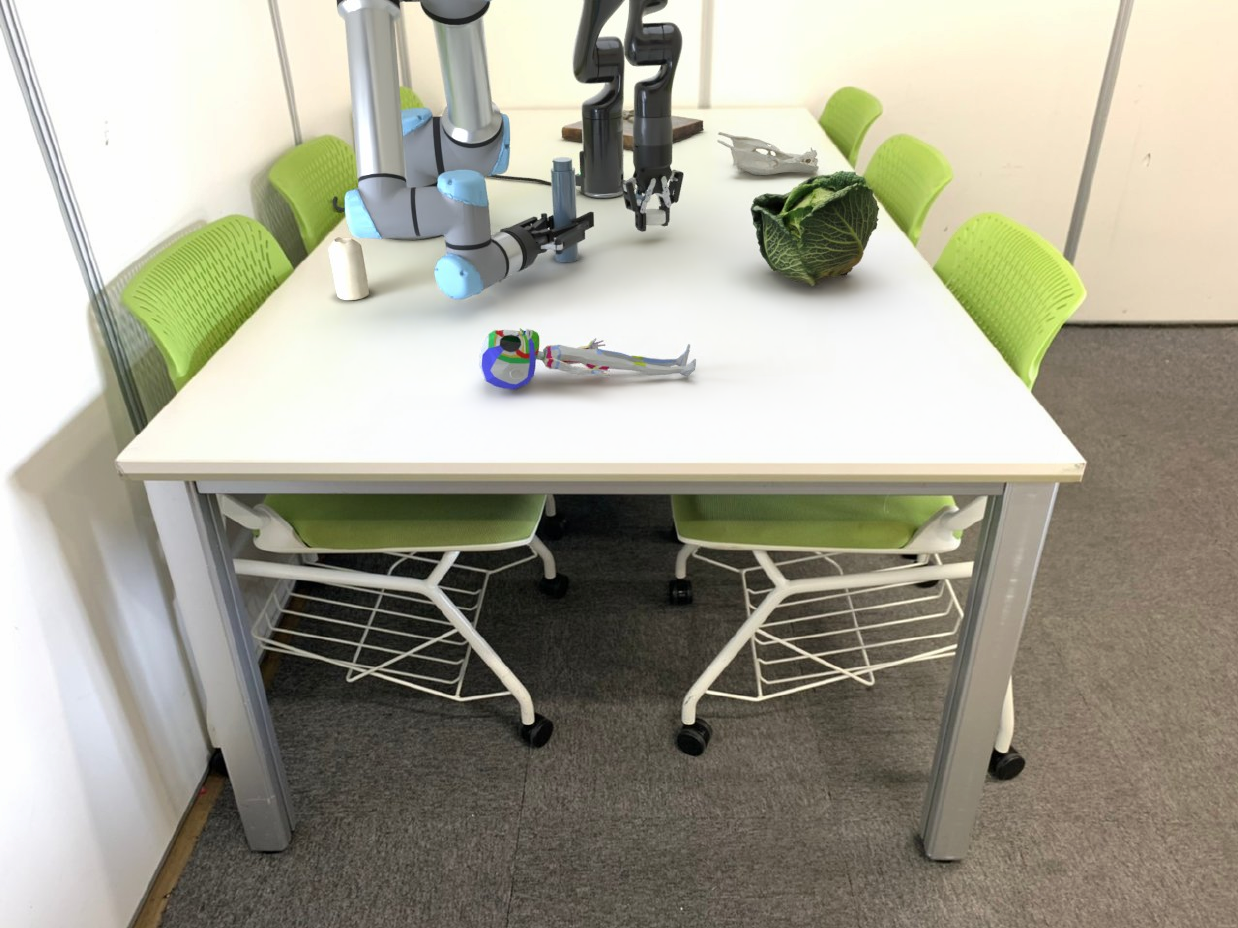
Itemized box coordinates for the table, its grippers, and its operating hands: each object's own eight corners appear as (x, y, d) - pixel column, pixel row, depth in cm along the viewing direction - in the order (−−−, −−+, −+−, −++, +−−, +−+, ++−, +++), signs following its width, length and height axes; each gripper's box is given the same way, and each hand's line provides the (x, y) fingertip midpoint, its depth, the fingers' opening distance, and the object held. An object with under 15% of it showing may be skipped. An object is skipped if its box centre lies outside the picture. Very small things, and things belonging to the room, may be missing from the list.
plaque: (647, 125, 237) (559, 112, 252) (647, 153, 241) (560, 139, 256) (706, 107, 258) (622, 97, 273) (705, 133, 262) (622, 121, 277)
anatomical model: (719, 128, 226) (819, 127, 222) (718, 166, 231) (817, 165, 227) (715, 142, 213) (822, 141, 210) (715, 181, 218) (819, 181, 215)
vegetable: (776, 302, 169) (727, 209, 161) (858, 246, 170) (814, 150, 162) (827, 317, 151) (775, 212, 143) (918, 253, 152) (872, 146, 144)
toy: (701, 358, 123) (480, 340, 118) (690, 412, 127) (477, 397, 122) (689, 328, 131) (482, 310, 127) (679, 379, 136) (479, 364, 131)
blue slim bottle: (569, 253, 174) (564, 155, 164) (583, 258, 171) (579, 159, 162) (550, 258, 172) (545, 159, 162) (564, 264, 169) (559, 163, 159)
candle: (375, 290, 158) (366, 235, 153) (358, 302, 154) (348, 245, 149) (348, 287, 160) (338, 232, 155) (330, 298, 156) (319, 242, 150)
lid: (641, 226, 176) (640, 216, 175) (638, 218, 180) (638, 209, 179) (666, 225, 176) (667, 215, 175) (664, 217, 180) (664, 208, 179)
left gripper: (470, 265, 161) (544, 229, 178) (550, 282, 153) (620, 243, 170) (465, 224, 157) (542, 191, 174) (547, 239, 149) (619, 203, 166)
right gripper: (670, 131, 176) (669, 217, 185) (610, 141, 169) (612, 230, 178) (694, 137, 171) (692, 226, 180) (633, 148, 164) (634, 239, 173)
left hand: (580, 217), depth 172 cm, fingers closed on blue slim bottle, 4 cm apart
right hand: (652, 227), depth 179 cm, fingers closed on lid, 5 cm apart
